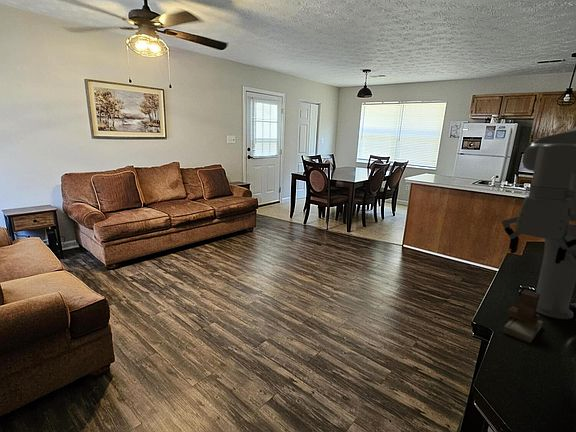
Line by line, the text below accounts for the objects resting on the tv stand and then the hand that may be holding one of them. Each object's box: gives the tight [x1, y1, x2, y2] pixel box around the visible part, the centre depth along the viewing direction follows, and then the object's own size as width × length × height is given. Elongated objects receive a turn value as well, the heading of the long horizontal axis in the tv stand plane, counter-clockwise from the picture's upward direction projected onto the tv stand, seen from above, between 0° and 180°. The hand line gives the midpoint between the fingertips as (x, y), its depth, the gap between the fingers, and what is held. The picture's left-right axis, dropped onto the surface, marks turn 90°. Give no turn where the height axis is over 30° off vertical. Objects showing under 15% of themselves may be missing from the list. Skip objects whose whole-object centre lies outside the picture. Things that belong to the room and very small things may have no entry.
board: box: [502, 317, 544, 344], centre depth 100 cm, size 14×7×2 cm, turn 130°
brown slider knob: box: [506, 288, 540, 325], centre depth 101 cm, size 4×7×11 cm, turn 40°
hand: (534, 257), depth 84 cm, fingers open, 9 cm apart
